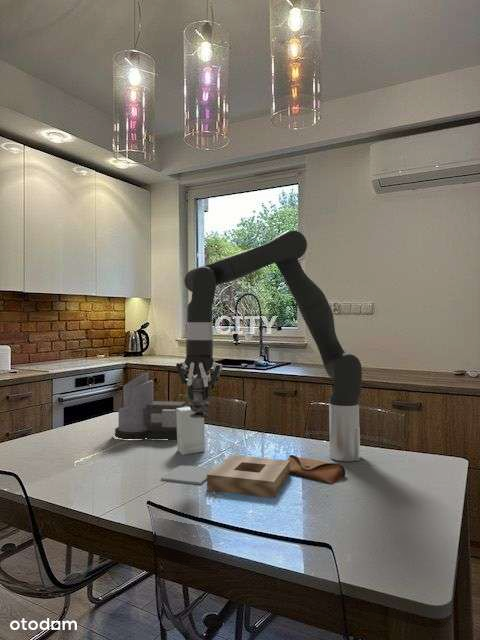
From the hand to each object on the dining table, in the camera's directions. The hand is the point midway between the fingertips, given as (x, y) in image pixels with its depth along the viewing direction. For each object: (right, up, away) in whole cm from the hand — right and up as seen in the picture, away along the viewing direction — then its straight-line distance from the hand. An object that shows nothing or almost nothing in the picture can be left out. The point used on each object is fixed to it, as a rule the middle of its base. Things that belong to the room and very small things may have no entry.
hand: (199, 399), depth 130 cm
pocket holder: (+14, -22, -4) cm, 26 cm away
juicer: (-23, -22, +47) cm, 57 cm away
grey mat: (-3, -22, +1) cm, 22 cm away
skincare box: (-5, -22, +26) cm, 34 cm away
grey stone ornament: (0, -5, 0) cm, 5 cm away
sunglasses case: (+32, -22, +2) cm, 39 cm away
